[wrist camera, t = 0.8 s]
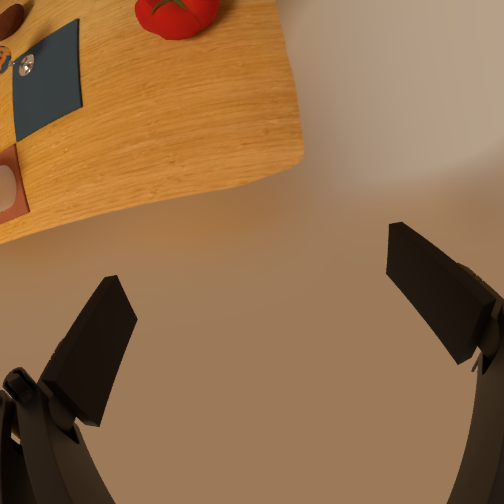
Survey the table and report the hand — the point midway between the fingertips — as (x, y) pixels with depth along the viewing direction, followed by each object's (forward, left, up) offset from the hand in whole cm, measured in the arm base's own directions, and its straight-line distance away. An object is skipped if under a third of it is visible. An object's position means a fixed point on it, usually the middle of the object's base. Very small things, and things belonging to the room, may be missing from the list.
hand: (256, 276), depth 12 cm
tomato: (-27, -6, -28) cm, 39 cm away
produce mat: (-10, -48, -28) cm, 56 cm away
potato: (-46, -42, -28) cm, 68 cm away
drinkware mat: (-26, -32, -28) cm, 50 cm away
